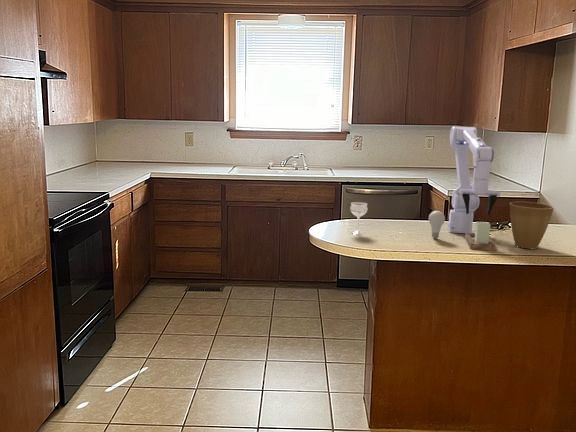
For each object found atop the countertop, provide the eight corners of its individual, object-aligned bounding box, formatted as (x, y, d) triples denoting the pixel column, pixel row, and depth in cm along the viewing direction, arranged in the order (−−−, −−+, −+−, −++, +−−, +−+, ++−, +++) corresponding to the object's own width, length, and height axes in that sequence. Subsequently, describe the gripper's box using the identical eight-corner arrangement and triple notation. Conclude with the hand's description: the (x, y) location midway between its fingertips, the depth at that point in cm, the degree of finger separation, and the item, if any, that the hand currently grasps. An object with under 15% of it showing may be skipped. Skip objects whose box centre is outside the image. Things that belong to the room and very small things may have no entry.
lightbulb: (432, 235, 219) (434, 208, 217) (446, 238, 215) (448, 211, 213) (423, 238, 215) (426, 210, 213) (437, 241, 211) (440, 213, 208)
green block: (475, 248, 203) (477, 224, 201) (473, 245, 207) (476, 221, 205) (488, 248, 202) (490, 224, 200) (486, 245, 206) (488, 222, 204)
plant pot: (553, 253, 198) (559, 209, 195) (510, 250, 201) (515, 207, 197) (541, 243, 213) (546, 202, 210) (501, 240, 215) (505, 200, 212)
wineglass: (358, 235, 216) (359, 205, 213) (345, 232, 221) (346, 202, 218) (369, 233, 220) (371, 203, 218) (356, 230, 225) (358, 201, 223)
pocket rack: (470, 248, 201) (470, 243, 201) (464, 237, 218) (465, 232, 217) (495, 250, 200) (495, 245, 199) (487, 239, 216) (488, 234, 216)
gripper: (462, 179, 206) (459, 214, 209) (503, 181, 204) (499, 217, 206) (460, 176, 213) (457, 211, 216) (499, 178, 211) (496, 213, 213)
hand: (477, 214), depth 212 cm, fingers open, 7 cm apart
